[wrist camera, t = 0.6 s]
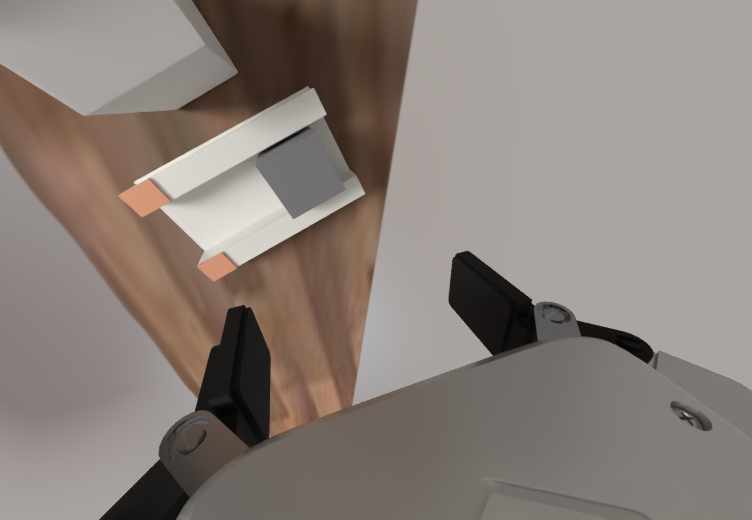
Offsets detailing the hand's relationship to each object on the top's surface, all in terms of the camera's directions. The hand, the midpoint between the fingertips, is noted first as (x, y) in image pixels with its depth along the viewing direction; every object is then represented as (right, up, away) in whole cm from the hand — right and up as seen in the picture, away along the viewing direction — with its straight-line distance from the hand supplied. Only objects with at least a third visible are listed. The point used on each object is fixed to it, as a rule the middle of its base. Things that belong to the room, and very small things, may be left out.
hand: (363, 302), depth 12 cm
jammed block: (-8, +13, +18) cm, 24 cm away
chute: (-13, +11, +19) cm, 25 cm away
